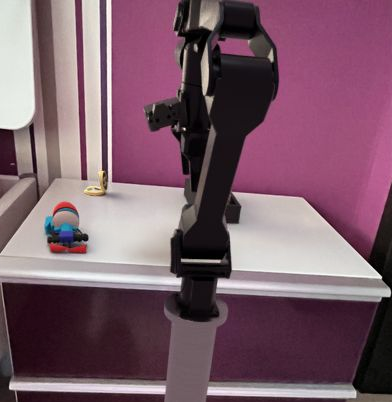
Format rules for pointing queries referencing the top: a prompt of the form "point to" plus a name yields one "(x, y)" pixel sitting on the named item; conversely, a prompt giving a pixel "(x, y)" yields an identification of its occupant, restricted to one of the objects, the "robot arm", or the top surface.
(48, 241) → the toy figure
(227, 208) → the caddy
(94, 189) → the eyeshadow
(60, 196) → the top surface
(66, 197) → the top surface
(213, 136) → the robot arm
